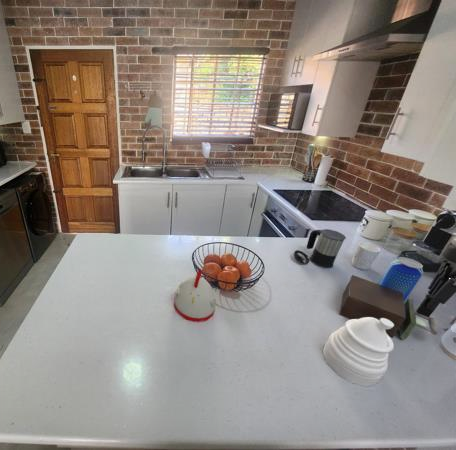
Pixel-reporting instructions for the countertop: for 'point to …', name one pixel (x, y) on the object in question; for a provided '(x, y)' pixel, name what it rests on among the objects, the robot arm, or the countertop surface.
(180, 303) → the white and red dome
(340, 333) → the honey pot
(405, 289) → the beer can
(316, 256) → the milk frother
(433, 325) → the drawer
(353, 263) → the white cup
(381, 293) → the cabinet
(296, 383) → the countertop surface
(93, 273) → the countertop surface
